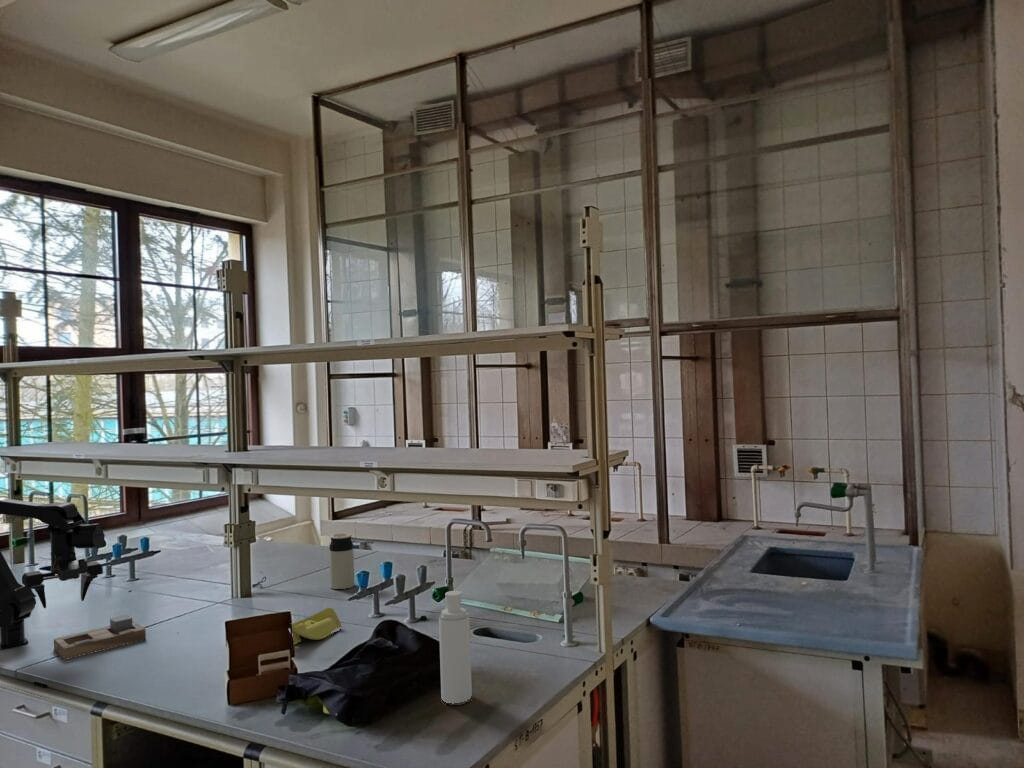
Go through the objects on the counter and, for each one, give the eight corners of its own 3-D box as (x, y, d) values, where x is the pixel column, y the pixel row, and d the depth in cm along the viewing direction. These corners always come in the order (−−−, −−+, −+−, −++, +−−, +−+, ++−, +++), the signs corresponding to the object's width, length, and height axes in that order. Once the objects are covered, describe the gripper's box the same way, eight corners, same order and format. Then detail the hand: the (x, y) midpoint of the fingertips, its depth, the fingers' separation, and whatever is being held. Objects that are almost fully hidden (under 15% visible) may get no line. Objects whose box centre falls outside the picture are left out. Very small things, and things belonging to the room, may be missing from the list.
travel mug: (333, 591, 248) (331, 538, 248) (328, 585, 256) (327, 534, 255) (356, 588, 252) (355, 535, 251) (351, 582, 259) (350, 531, 259)
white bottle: (464, 690, 165) (460, 579, 165) (477, 701, 159) (473, 586, 159) (436, 697, 162) (433, 584, 162) (448, 708, 156) (445, 591, 156)
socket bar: (54, 649, 200) (53, 637, 200) (133, 630, 214) (132, 619, 214) (64, 660, 192) (63, 647, 192) (145, 639, 206) (145, 627, 206)
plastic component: (308, 617, 214) (334, 604, 211) (317, 641, 213) (344, 629, 210) (263, 635, 196) (292, 621, 193) (273, 661, 194) (302, 648, 191)
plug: (110, 639, 207) (110, 618, 207) (127, 635, 210) (126, 614, 210) (115, 643, 204) (115, 622, 204) (132, 639, 207) (132, 618, 207)
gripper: (30, 559, 193) (31, 618, 193) (108, 547, 206) (109, 603, 206) (21, 552, 201) (22, 609, 201) (96, 541, 214) (97, 595, 214)
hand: (63, 604), depth 205 cm, fingers open, 9 cm apart
